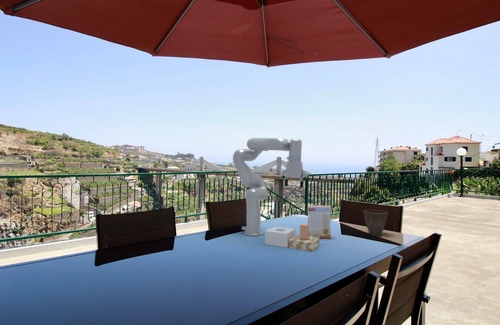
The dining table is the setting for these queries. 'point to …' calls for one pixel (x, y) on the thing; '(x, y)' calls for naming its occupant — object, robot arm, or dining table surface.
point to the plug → (304, 232)
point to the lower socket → (304, 243)
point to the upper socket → (279, 236)
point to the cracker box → (319, 221)
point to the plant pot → (375, 221)
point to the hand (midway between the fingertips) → (293, 187)
